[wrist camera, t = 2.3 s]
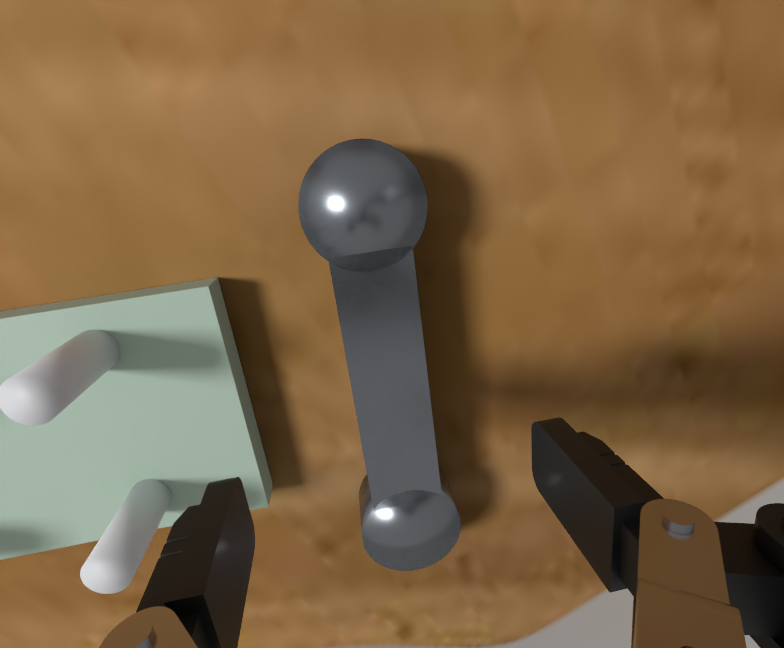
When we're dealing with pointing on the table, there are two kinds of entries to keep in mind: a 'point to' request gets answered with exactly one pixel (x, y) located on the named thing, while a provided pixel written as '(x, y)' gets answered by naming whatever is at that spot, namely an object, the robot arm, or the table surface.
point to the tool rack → (120, 422)
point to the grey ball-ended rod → (383, 343)
